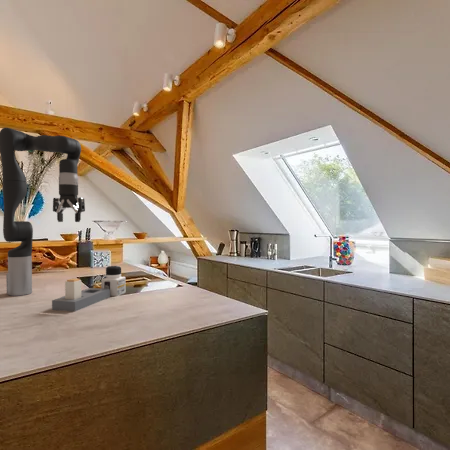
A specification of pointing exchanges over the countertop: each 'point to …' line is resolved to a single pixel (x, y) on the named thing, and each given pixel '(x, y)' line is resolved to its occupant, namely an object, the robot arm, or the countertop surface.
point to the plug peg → (73, 289)
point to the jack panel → (81, 300)
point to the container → (114, 281)
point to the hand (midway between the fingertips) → (68, 221)
